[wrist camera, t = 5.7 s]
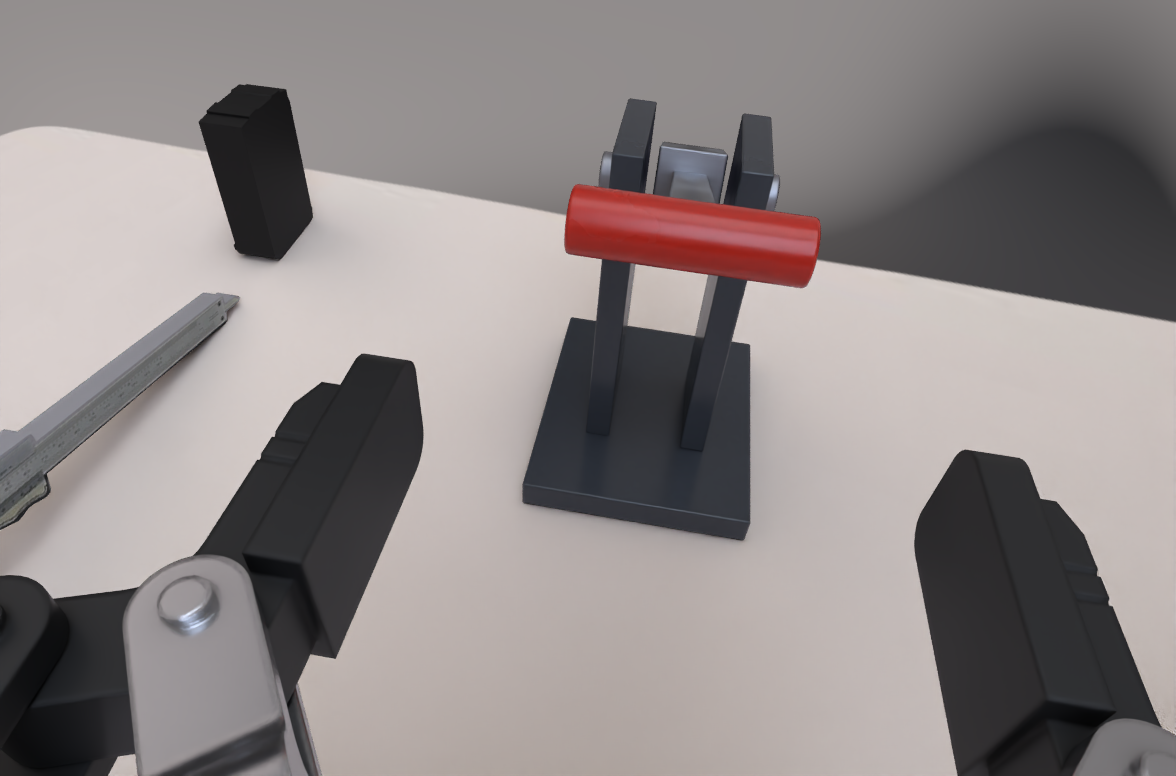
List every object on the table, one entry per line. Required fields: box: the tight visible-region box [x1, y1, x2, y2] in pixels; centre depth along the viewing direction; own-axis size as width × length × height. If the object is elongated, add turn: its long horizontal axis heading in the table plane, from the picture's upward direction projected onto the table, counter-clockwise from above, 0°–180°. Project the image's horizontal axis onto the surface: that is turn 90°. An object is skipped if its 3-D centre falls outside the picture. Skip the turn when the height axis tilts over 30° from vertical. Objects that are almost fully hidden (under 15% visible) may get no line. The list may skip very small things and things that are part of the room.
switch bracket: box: [523, 99, 780, 540], centre depth 29 cm, size 11×9×14 cm
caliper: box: [0, 293, 240, 530], centre depth 29 cm, size 20×1×6 cm, turn 172°
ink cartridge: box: [199, 84, 313, 259], centre depth 40 cm, size 5×2×8 cm, turn 171°
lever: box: [564, 142, 821, 288], centre depth 21 cm, size 13×5×2 cm, turn 171°
